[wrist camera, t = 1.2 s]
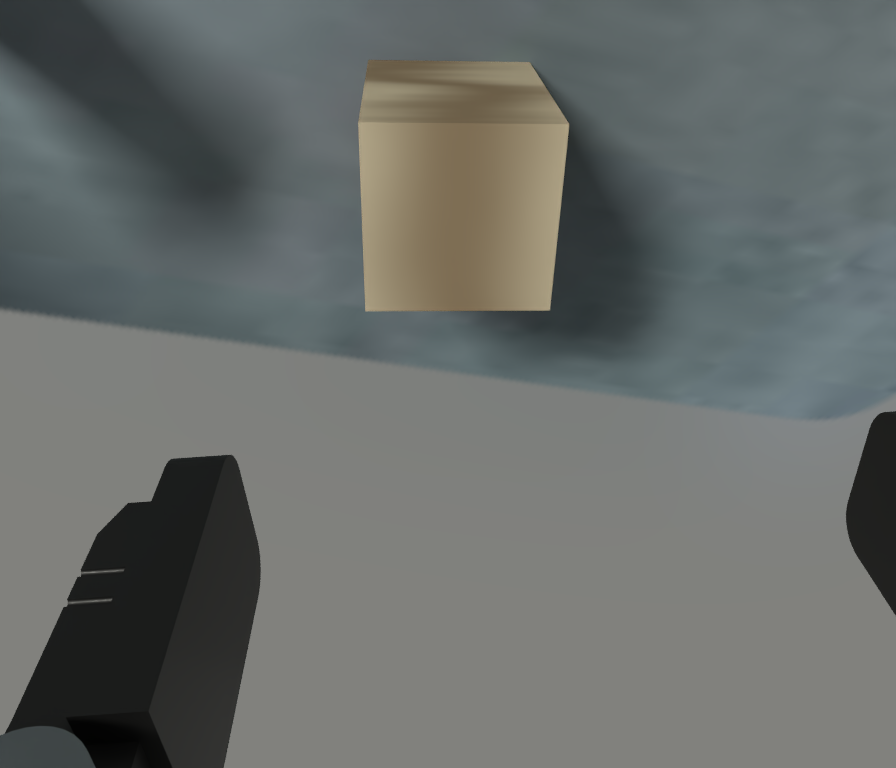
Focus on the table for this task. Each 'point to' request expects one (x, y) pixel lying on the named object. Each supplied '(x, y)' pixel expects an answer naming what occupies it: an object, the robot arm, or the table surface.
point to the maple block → (459, 186)
